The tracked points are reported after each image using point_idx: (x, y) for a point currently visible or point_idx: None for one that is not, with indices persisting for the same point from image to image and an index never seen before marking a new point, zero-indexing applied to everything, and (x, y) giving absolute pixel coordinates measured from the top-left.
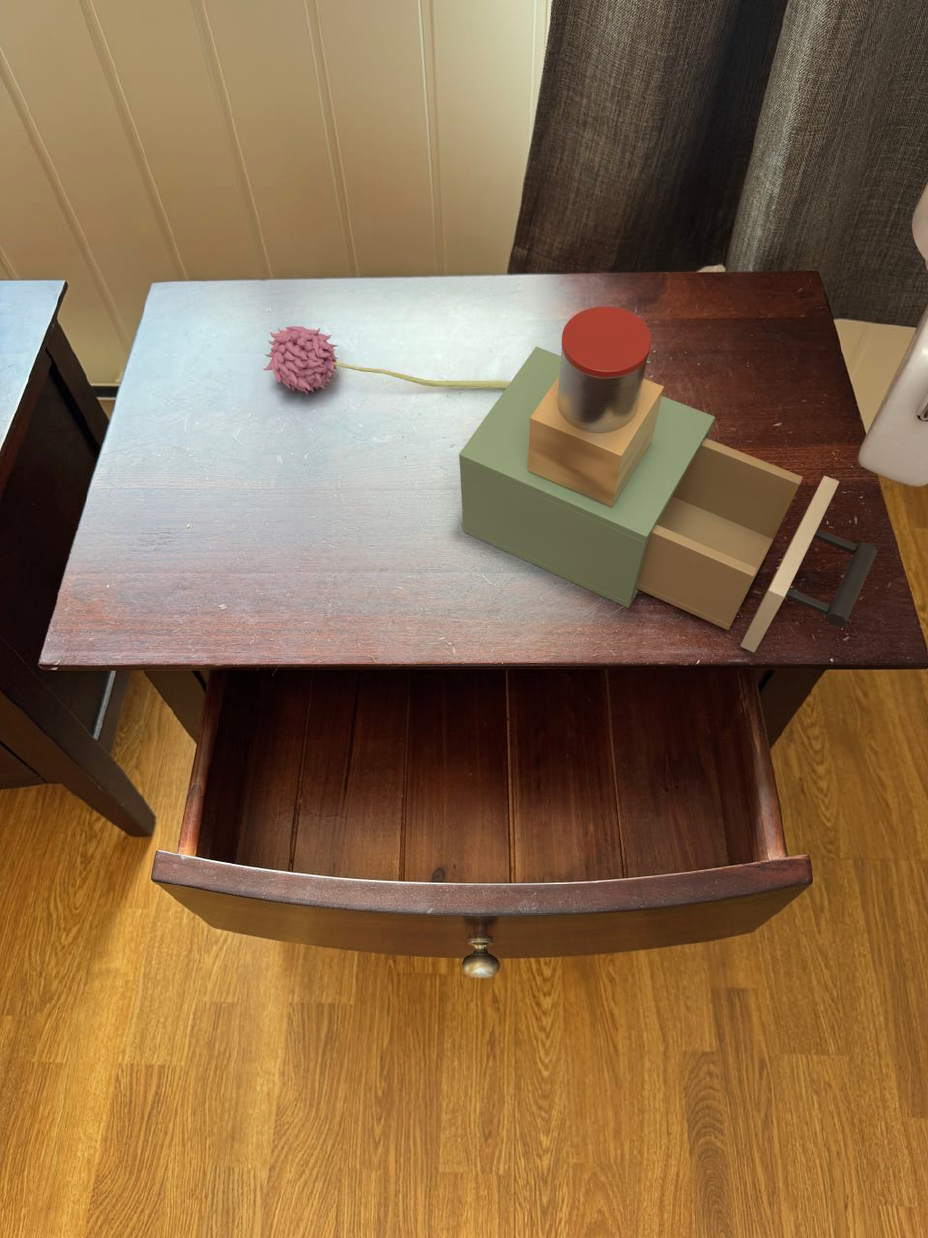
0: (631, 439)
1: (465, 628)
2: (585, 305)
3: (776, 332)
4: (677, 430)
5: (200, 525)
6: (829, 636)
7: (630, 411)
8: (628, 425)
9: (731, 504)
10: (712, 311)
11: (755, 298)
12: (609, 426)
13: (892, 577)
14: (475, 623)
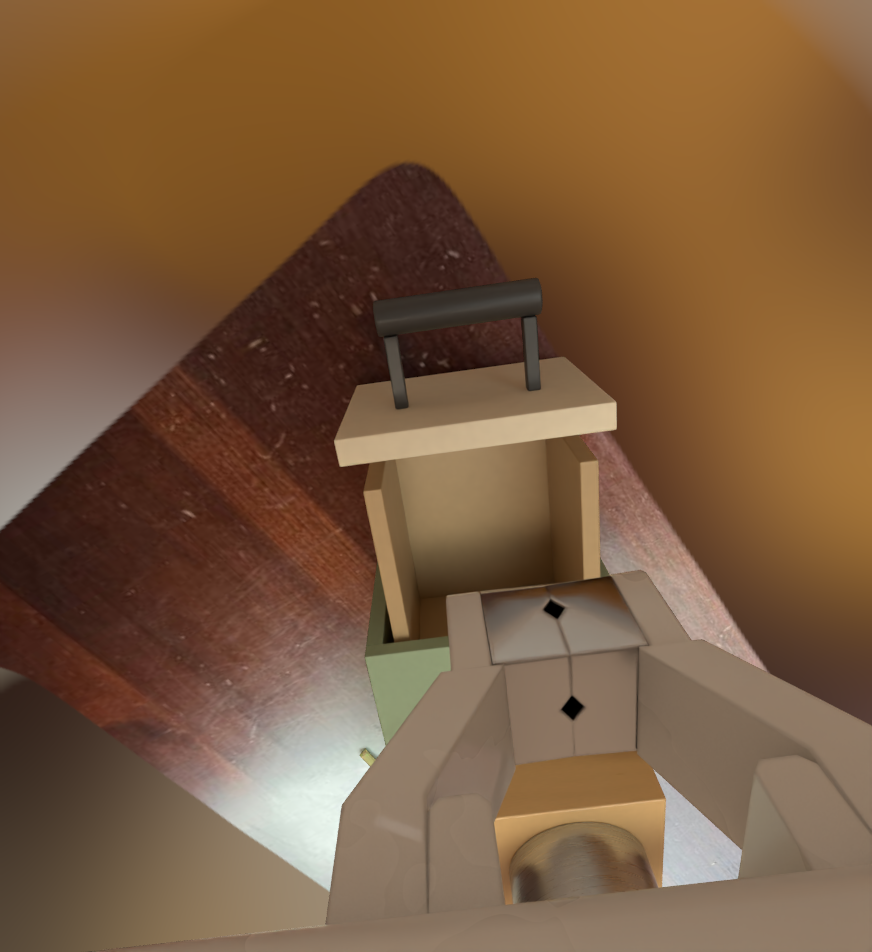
0: (624, 804)
1: (696, 634)
2: (210, 771)
3: (48, 591)
4: (426, 683)
5: (708, 858)
6: (464, 276)
7: (603, 853)
8: (598, 818)
9: (401, 515)
10: (90, 667)
11: (21, 639)
12: (635, 847)
13: (309, 244)
14: (685, 630)
